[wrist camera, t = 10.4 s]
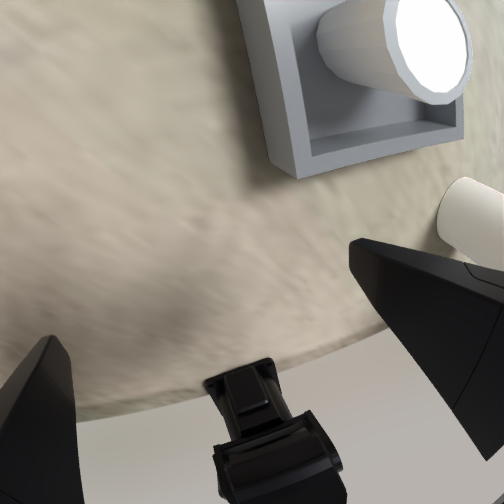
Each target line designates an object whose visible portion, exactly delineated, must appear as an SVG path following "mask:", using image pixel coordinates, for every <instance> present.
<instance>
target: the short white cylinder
mask: <svg viewBox="0 0 504 504" xmlns="http://www.w3.org/2000/svg"><path fill="white" fill-rule="evenodd" d="M316 37H317V43H318V50H319V53H320V55H321V57H322V58H323V60H324V62H325V64H326V66H327V67H328V68H329V69H330V70H331V71H332V72H333V73H334V74H335V75H336V76H337V77H339V78H341V79H343V80H346V81H348V82H351V83H353V84H358V85H362V86H367V87H371V88H375V89H379V90H383V91H387V92H391V93H394V94H398V95H402V96H405V97H409V98H412V99H415V100H418V101H422V102H425V103H428V104H431V105H441V104H449V103H451V102H452V101H453V100H455V99H456V98H458V97H459V96H460V95H461V94H462V92H463V91H464V89H465V87H466V85H467V83H468V81H469V79H470V74H471V68H472V62H473V52H472V42H471V35H470V32H469V29H468V26H467V24H466V21H465V18H464V15H463V13H462V12H461V10H460V9H459V7H458V6H457V4H456V3H455V1H454V0H347V1H345V2H342V3H340V4H338V5H336V6H334V7H332V8H330V9H328V11H327V12H326V13H325V14H324V15H323V17H322V18H321V19H320V21H319V25H318V29H317V33H316Z"/></svg>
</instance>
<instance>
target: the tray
mask: <svg viewBox="0 0 504 504" xmlns="http://www.w3.org/2000/svg"><path fill="white" fill-rule="evenodd" d="M345 1H347V0H236V4H237V8H238V13H239V17H240V21H241V26H242V30H243V35H244V39H245V44H246V48H247V53H248V58H249V62H250V67H251V72H252V76H253V81H254V86H255V91H256V96H257V101H258V106H259V111H260V116H261V121H262V126H263V131H264V136H265V141H266V147H267V152H268V157H269V162H270V163H272V164H273V165H275V166H276V167H278V168H280V169H281V170H283V171H284V172H286V173H288V174H289V175H291V176H292V177H294V178H296V179H297V180H298V179H301V178H305V177H308V176H312V175H315V174H319V173H323V172H326V171H330V170H334V169H338V168H341V167H345V166H349V165H353V164H357V163H361V162H365V161H369V160H373V159H377V158H381V157H385V156H389V155H393V154H397V153H402V152H406V151H410V150H415V149H419V148H423V147H428V146H433V145H437V144H442V143H447V142H451V141H456V140H461V139H464V110H463V92H462V94H461V95H460V96H459V97H458V98H456V99H455V100H453V101H452V102H451V103H449V104H441V105H431V104H428V103H425V102H422V101H418V100H415V99H412V98H409V97H405V96H402V95H398V94H394V93H391V92H387V91H383V90H379V89H375V88H371V87H367V86H362V85H358V84H353V83H351V82H348V81H346V80H343V79H341V78H339V77H337V76H336V75H335V74H334V73H333V72H332V71H331V70H330V69H329V68H328V67H327V66H326V64H325V62H324V60H323V58H322V57H321V55H320V53H319V50H318V43H317V37H316V33H317V29H318V25H319V21H320V19H321V18H322V17H323V15H324V14H325V13H326V12H327V11H328V9H330V8H332V7H334V6H336V5H338V4H340V3H342V2H345Z"/></svg>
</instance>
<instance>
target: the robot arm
mask: <svg viewBox="0 0 504 504" xmlns="http://www.w3.org/2000/svg"><path fill="white" fill-rule="evenodd" d="M349 268H350V271H351V273H352V274H353V276H354V278H355V279H356V281H357V282H358V284H359V285H360V287H361V288H362V290H363V291H364V293H365V295H366V296H367V298H368V299H369V301H370V302H371V304H372V305H373V307H374V308H375V310H376V311H377V312H378V314H379V315H380V316H381V317H382V319H383V320H384V321H385V322H386V324H387V325H388V326H389V327H390V329H391V330H392V331H393V333H394V334H395V335H396V336H397V338H398V339H399V340H400V342H402V344H403V345H404V347H405V348H406V349H407V351H408V352H409V353H410V355H411V356H412V357H413V359H414V360H415V361H416V362H417V364H418V365H419V366H420V368H421V369H422V370H423V372H424V373H425V375H426V376H427V377H428V378H429V380H430V381H431V383H432V384H433V385H434V387H435V388H436V389H437V391H438V392H439V394H440V395H441V396H442V398H443V399H444V401H445V402H446V403H447V405H448V406H449V407H450V409H451V410H452V412H453V413H454V415H455V416H456V418H457V419H458V421H459V422H460V424H461V425H462V427H463V428H464V429H465V431H466V432H467V434H468V435H469V437H470V438H471V440H472V441H473V443H474V444H475V446H476V447H477V449H478V450H479V452H480V453H481V455H482V456H483V458H484V459H485V460H486V461H488V460H489V459H490V458H491V457H492V456H493V455H494V454H495V453H496V452H497V451H498V450H499V449H500V448H501V447H502V446H503V445H504V271H500V270H495V269H491V268H486V267H482V266H478V265H474V264H470V263H466V262H464V263H463V262H462V261H458V260H454V259H450V258H446V257H442V256H438V255H434V254H430V253H426V252H421V251H417V250H413V249H409V248H405V247H400V246H396V245H392V244H387V243H383V242H379V241H374V240H370V239H365V238H359V239H357V240H354V241H351V242H350V244H349ZM205 386H206V389H207V390H208V392H209V394H210V396H211V397H212V399H213V401H214V403H215V405H216V406H217V408H218V410H219V411H220V413H221V415H222V416H223V417H224V420H225V423H226V426H227V429H228V432H229V435H230V438H231V441H230V442H227V443H224V444H221V445H220V444H218V445H215V446H213V448H214V453H215V454H213V456H212V457H213V460H214V463H215V466H216V470H217V479H218V492H219V495H220V497H221V498H224V499H226V500H227V501H228V502H229V503H230V504H346V503H347V492H346V488H345V486H344V484H343V482H342V480H341V478H340V476H339V474H338V472H340V471H342V470H343V466H342V462H341V459H340V457H339V455H338V453H337V450H336V449H335V447H334V445H333V443H332V441H331V440H330V438H329V437H328V435H327V434H326V432H325V431H324V429H323V428H322V427H321V425H320V424H319V422H318V421H317V419H316V418H315V416H314V415H313V413H312V412H311V410H308V411H306V412H304V413H303V414H301V415H299V416H297V417H294V418H293V417H292V415H291V413H290V411H289V409H288V407H287V405H286V403H285V401H284V399H283V397H282V392H281V388H280V384H279V380H278V376H277V372H276V368H275V364H274V361H273V359H272V358H266V359H264V360H261V361H259V362H256V363H253V364H251V365H248V366H245V367H242V368H240V369H237V370H234V371H231V372H229V373H226V374H223V375H220V376H217V377H214V378H211V379H208V380H206V381H205ZM0 504H85V503H84V497H83V491H82V483H81V475H80V468H79V457H78V446H77V432H76V412H75V399H74V391H73V382H72V372H71V361H70V357H69V355H68V353H67V352H66V350H65V349H64V347H63V346H62V344H61V343H60V341H59V340H58V338H57V337H56V336H55V335H48V336H44V337H42V338H41V339H40V340H39V341H38V343H37V344H36V345H35V346H34V347H33V349H32V350H31V351H30V352H29V353H28V355H27V356H26V357H25V358H24V360H23V361H22V362H21V363H20V365H19V366H18V367H17V368H16V370H15V371H14V372H13V374H12V375H11V376H10V377H9V379H8V380H7V381H6V383H5V384H4V385H3V387H2V388H1V389H0ZM493 504H504V494H502V496H500V498H498V499H497V500H496V501H495V502H494V503H493Z"/></svg>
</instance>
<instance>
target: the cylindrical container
mask: <svg viewBox="0 0 504 504" xmlns="http://www.w3.org/2000/svg"><path fill="white" fill-rule="evenodd" d="M437 232H438V234H439V237H440V238H441V239H442V240H444V241H445V242H447V243H448V244H450V245H451V246H452V247H454V248H455V249H457V250H458V251H460V252H461V253H463V254H464V255H466V256H467V257H468V258H470V259H471V260H473V261H474V262H476V263H477V264H478V265H480V266H482V267H486V268H491V269H495V270H500V271H504V194H502V193H500V192H498V191H496V190H494V189H492V188H490V187H488V186H486V185H484V184H482V183H479V182H477V181H475V180H473V179H471V178H468V177H462V178H459V179H457V180H456V181H455V182H454V183H453V184H452V185H451V186H450V187H449V188H448V190H447V191H446V193H445V195H444V197H443V199H442V201H441V204H440V206H439V210H438V214H437Z"/></svg>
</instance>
